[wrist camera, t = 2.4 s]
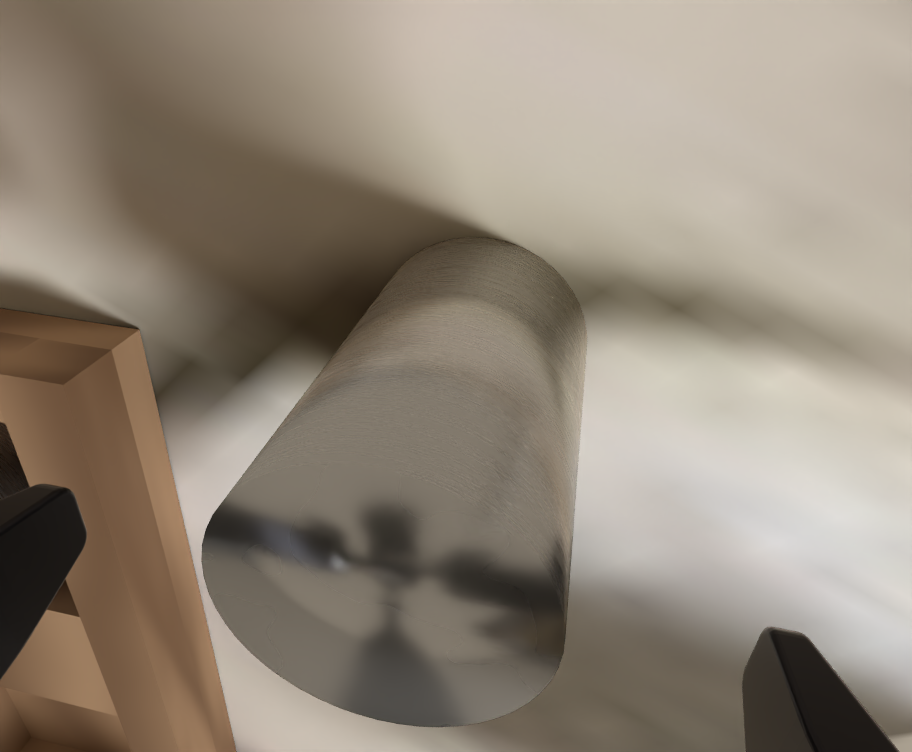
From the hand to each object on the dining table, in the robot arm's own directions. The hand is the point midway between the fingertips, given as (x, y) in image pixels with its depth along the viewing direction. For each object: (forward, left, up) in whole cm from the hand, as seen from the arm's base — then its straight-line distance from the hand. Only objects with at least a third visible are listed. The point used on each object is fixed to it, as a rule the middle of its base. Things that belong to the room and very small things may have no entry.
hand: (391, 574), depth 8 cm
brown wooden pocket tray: (+13, +11, -6) cm, 18 cm away
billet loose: (0, 0, -6) cm, 6 cm away
